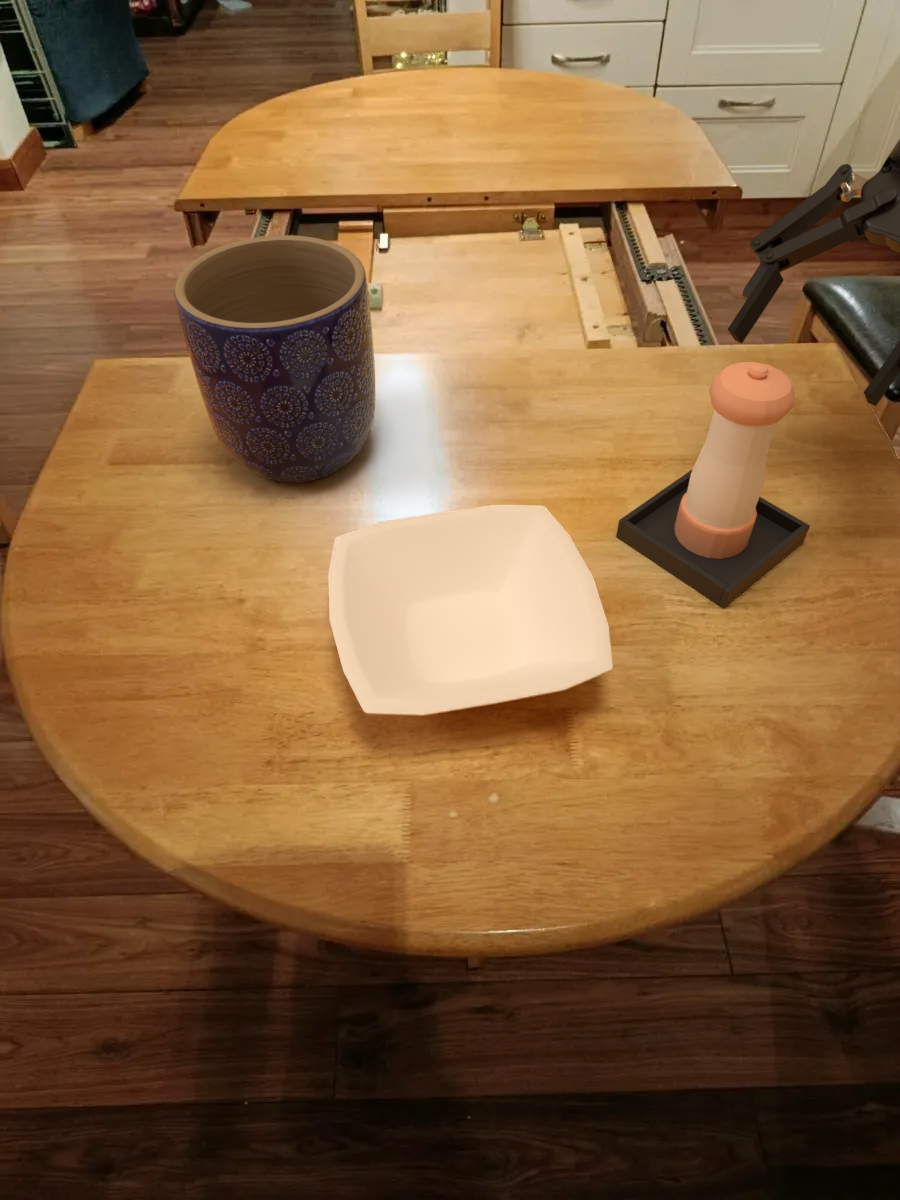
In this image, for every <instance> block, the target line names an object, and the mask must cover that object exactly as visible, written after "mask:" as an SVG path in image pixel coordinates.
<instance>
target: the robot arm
mask: <svg viewBox="0 0 900 1200" xmlns="http://www.w3.org/2000/svg"><path fill="white" fill-rule="evenodd" d="M857 196H860V202H859V203H856V204H855V205H853V206H851V207H849V208H846V209H845V210H843V211H842V212H841V213H840V214H839V215H838V216H837V217H835V218H832V219H831V220H828V221H827V222H824V223H822V224H820V225H818V226H815V225H816V224H818V223H819V222H820V221H822V220H823V219H824V218H826V217H827V216H828V215H830V214H831V213H832V212H834V211H835V210H836V209H838V207H839V206H841V204H843V202H845V203H849V202H850V201H851V200H852V199H853V198H854V197H857ZM813 226H815V227H813ZM812 227H813V228H812ZM810 228H812V229H810ZM865 237H866V238H867V240H868V242H869V243H872V244H875V245H876V246H877V245H878V246H887V247H888V248H890V249H891V250H892V251H894V252H897V253H899V254H900V138H899V139H898V140H897V142H896V143H895V145H894V146H893V148H892V150H891V151H890V152H889V154H888V155H887V157H886V159H884V162H883V164H882V166H881V168H880V169H879V170H878V171H877V173H875V174H874V175H873V176H871V178H869V179H868V178H865V177H863V176H861V175H859V174H857V173H855V172H854V171H853V168H852V165H851V164H849V163H845V164H841V165H840V166H839V167H838V168H837V169H836V170H835V172H834V173H833V174H832V175H831V177H830V178H829V179H828V181H827V182H826V183H825V185H823V186H822V187H820V188H819V189H817V190H816V191H815V192H813V193H812V194H811V195H810V196H808V197H806V198H805V199H804V200H803V201H801V202H800V203H799V204H797V205H796V206H795V207H794V208H792V209H791V210H789V211H788V212H787V213H785V214H784V215H783V216H782V217H780V218H779V219H777V220H776V221H775V222H773V223H772V224H770V225H769V226H768V227H766V228H764V229H763V230H762V231H761V232H759V234H757V235H756V236H754V237H753V238H752V239H751V241H750V244H749V246H750V247H751V250H752V252H753V254H754V256H755V258H756V260H758V261H759V265H758V266H757V268H756V270H755V271H754V273H753V274H752V275H751V277H750V279H749V280H748V281H747V283H746V284H745V286H744V288H743V290H742V294H741V295H742V297H743V299H744V300H745V302H744V303H743V305H742V306H741V308H740V309H739V311H738V312H737V314H736V315H735V317H734V318H733V320H732V322H731V323H730V324H729V326H728V328H727V331H728V332H729V334H730V335H731V337H732V338H733V340H734V341H735V342H736V343H737V342H738V343H739V344H743V343H744V341H745V340H746V338H747V337H748V335H749V334H750V332H751V331H752V329H753V328H754V326H755V325H756V323H757V322H758V321H759V319H760V317H761V316H762V315H763V313H764V311H765V310H766V307H767V306H768V305H769V304H770V302H771V300H772V299H773V297H774V296H775V294H776V293H777V291H778V290H779V288H780V287H781V285H782V284H783V282H784V281H785V280H784V278H783V276H782V274H781V272H784V271H786V270H788V269H791V268H793V267H795V266H797V265H799V264H802V263H804V262H805V261H808V260H811V259H812V258H815V257H817V256H818V255H822V254H823V253H825V252H827V251H830V250H831V249H834V248H836V247H838V246H840V245H843V244H845V243H846V242H849V243H850V242H851V243H852V242H855V241H857V240H860V239H861V238H862V239H863V238H865ZM899 375H900V340H899V342H898V343H897V344H896V345H895V347H894V348H893V350H892V351H891V352H890V354H889V355H888V357H887V358H886V359H885V361H884V362H883V363H882V365H881V366H880V368H879V370H878V371H877V372H876V374H875V375H874V377H873V378H872V379H871V381H870V382H869V383H868V385H867V386H866V388H865V389H864V391H863V395H864V397H865V399H866V402H867V403H868V404H870V405H872V406H874V407H877V405H879V402H880V401H881V400H882V398H883V397H884V396H885V394H886V393H887V392H888V390H889V389H890V387H891V386H892V384H893V383H894V382H895V380H896V378H897V377H898V376H899Z"/></svg>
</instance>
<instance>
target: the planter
mask: <svg viewBox="0 0 900 1200" xmlns="http://www.w3.org/2000/svg"><path fill="white" fill-rule="evenodd" d="M367 280H368V279H367V275H366V269H365V266H364V265H363V263H362V261H361V260H360V259H359V257H357V255H356V254H355V253H353V252H352V251H350V250H349V249H348V248H346V247H344V246H342V245H339V244H337V243H335V242H333V241H329V240H326V239H322V238H318V237H313V236H306V235H305V236H304V235H291V234H284V235H283V234H282V235H281V234H280V235H265V236H258V237H251V238H246V239H241V240H237V241H233V242H230V243H227V244H224V245H221V246H218V247H216V248H214V249H211V250H209V251H208V252H205V253H203V254H202V255H200V256H198V257H197V258H196V259H194V260H193V261H191V262H190V263H189V264H188V265H187V266H186V267H185V268H184V269H183V270H182V271H181V272H180V273H179V276H178V277H177V279H176V281H175V284H174V290H173V295H174V300H175V306H176V309H177V314H178V318H179V321H180V325H181V329H182V333H183V336H184V340H185V345H186V348H187V352H188V355H189V359H190V363H191V365H192V369H193V372H194V376H195V379H196V382H197V385H198V389H199V392H200V395H201V398H202V401H203V404H204V408H205V409H206V413H207V415H208V418H209V421H210V423H211V427H212V428H213V431H214V432H215V434H216V436H217V438H218V440H219V442H220V444H221V445H222V447H223V448H224V449H225V450H226V452H227V453H228V454H229V455H230V456H231V458H233V459H234V460H235V461H236V462H237V463H239V464H240V465H241V466H242V467H243V468H244V469H246V470H248V471H249V472H251V473H253V474H255V475H257V476H259V477H262V478H264V479H267V480H271V481H276V482H282V483H305V482H312V481H316V480H319V479H322V478H326V477H328V476H330V475H332V474H334V473H336V472H338V471H339V470H341V469H343V468H344V467H346V466H348V464H349V463H350V462H351V461H352V460H353V459H354V458H355V457H356V456H357V455H358V453H359V452H360V451H361V450H362V448H363V447H364V445H365V443H366V442H367V439H368V437H369V435H370V432H371V430H372V427H373V425H374V419H375V412H376V365H375V351H374V338H373V336H374V335H373V324H372V316H371V304H370V296H369V287H368V281H367Z"/></svg>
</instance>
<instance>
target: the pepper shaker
mask: <svg viewBox="0 0 900 1200" xmlns="http://www.w3.org/2000/svg"><path fill="white" fill-rule="evenodd" d="M793 385H794V384H793V383H792V381H791V379H790V378H789V377H788V375H787V374H786V373H785V372H784V371H783V370H780V369H779V368H777V367H775V366H773V365H770V364H767V363H763V362H762V363H761V362H759V361H741V362H735V363H732V364H729V365H727V366H726V367H725V368H724V369H723V370H721V371H720V372H719V373H717V374H716V375H715V377H714V378H713V379H712V381H711V384H710V386H709V397H710V402H711V403H710V404H711V407H712V408H713V412H712V416H711V420H710V423H709V427H708V431H707V435H706V439H705V442H704V444H703V446H702V447H701V450H700V453H698V457H697V458H696V461H695V463H694V465H693V467H692V469H693V470H692V469H691V470H692V472H691V476H690V480H689V485H688V490H687V492H686V493H685V494H684V495H683V497H682V500H681V502H680V506H679V510H678V514H677V518H676V522H675V526H674V528H675V535H676V537H677V539H678V541H679V542H680V543H681V544H682V545H683V546H684V547H685V548H686V549H687V550H689V551H691V552H693V553H695V554H697V555H700V556H703V557H707V558H716V559H722V558H728V557H733V556H735V555H737V554H739V553H741V552H742V551H743V550H744V549H745V548H746V547H747V544H748V541H749V538H750V535H751V532H752V529H753V526H754V523H755V520H756V517H757V512H756V505H757V502H758V500H759V497H761V494H762V491H763V489H764V485H765V478H766V468H767V461H768V454H769V453H768V452H769V448H770V446H771V443H772V440H773V436H774V433H775V430H776V427H777V424H778V422H780V421H781V420H782V419H783V418H784V417H786V416H787V415H788V414H789V413H790V412H791V410H792V409H793V407H794V404H795V400H796V398H795V397H796V392H795V389H794V386H793Z"/></svg>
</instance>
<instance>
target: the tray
mask: <svg viewBox="0 0 900 1200" xmlns="http://www.w3.org/2000/svg"><path fill="white" fill-rule="evenodd" d="M692 470H693V468H692V469H690V470H689V471H688V472H687V473H684V474H683V475H682V476H680V477H679V478H678V479H675V481H673V482H671V483H670V484H668V486H666V487H664V488H663V489H662V490H660V491H659V492H657V493H656V494H655V495H653V496H651V497H650V498H649V499H648V500H646V501H645V502H643V503H641V504H640V505H639V506H637V507H636V508H634V509H633V510H632V511H630V512H629V513H627V514H626V515H624V516H623V517H621V518H620V519H619V520H618V525H617V530H616V535H615V537H616V538H617V539H619V540H621V541H622V542H624V543H625V544H626V545H628V546H630V547H631V548H632V549H634V550H635V551H637V552H639V554H641V555H643V557H646V558H647V559H649V560H650V561H651V562H653V563H655V564H656V565H658V566H659V567H661V568H662V569H664V570H665V571H667V572H668V573H670V574H671V575H673V576H674V577H675V578H677V579H679V581H681V582H683V583H684V584H685V585H686V584H687V585H688V586H689V587H690V588H692V589H694V590H695V591H697V592H698V593H699V594H701V595H702V596H704V597H706V598H707V599H709V600H710V601H711V602H713V603H714V604H716V605H717V606H719V607H721V608H722V609H725V608H726V607H727V606H729V605H730V604H731V603H733V601H735V600H736V599H737V598H738V597H739V596H741V595H742V594H743V593H744V592H746V591H747V590H748V589H749V588H751V586H752V585H754V584H755V583H756V582H757V581H759V580H760V579H761V578H763V577H764V576H765V575H766V574H767V573H768V572H769V571H770V570H772V569H773V568H774V567H775V566H777V565H778V564H779V563H781V561H783V560H784V559H785V558H786V557H788V556H789V555H790V554H792V552H793V551H795V550H796V549H797V548H798V547H799V546H801V545H802V544H803V543H804V542H805V540H806V537H807V535H808V532H809V529H810V526H811V525H810V524H808V523H807V522H805V521H803V520H801V519H799V518H797V517H796V516H794V515H793V514H790V513H789V512H787V511H786V510H784V509H782V508H780V507H779V506H777V505H775V504H773V503H772V502H770V501H768V500H766V499H765V498H763V497H761V496H760V497H759V500H758V502H757V505H756V512H757V517H756V520H755V523H754V526H753V529H752V532H751V535H750V538H749V541H748V544H747V547H746V548H745V549H744V550H743V551H742V552H741V553H739V554H737V555H735V556H733V557H728V558H722V559H716V558H707V557H703V556H700V555H697V554H695V553H693V552H691V551H689V550H687V549H686V548H685V547H684V546H683V545H682V544H681V543H680V542H679V541H678V539H677V537H676V535H675V528H674V526H675V522H676V518H677V514H678V510H679V506H680V502H681V500H682V497H683V495H684V494H685V493H686V492H687V490H688V485H689V480H690V476H691V472H692Z"/></svg>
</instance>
